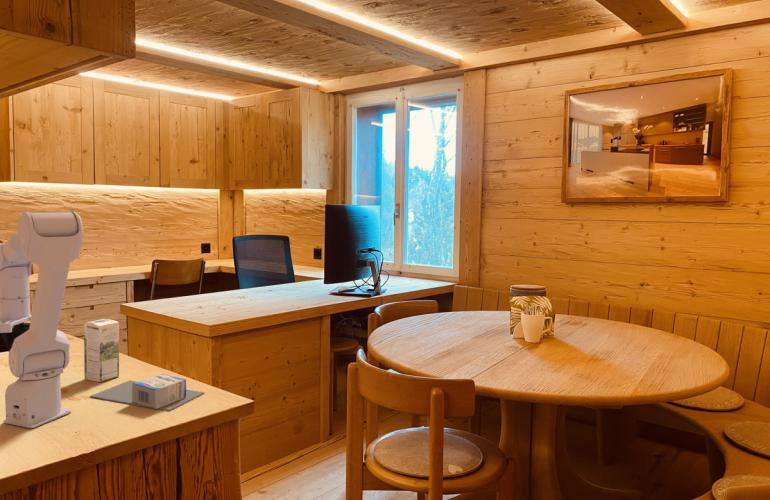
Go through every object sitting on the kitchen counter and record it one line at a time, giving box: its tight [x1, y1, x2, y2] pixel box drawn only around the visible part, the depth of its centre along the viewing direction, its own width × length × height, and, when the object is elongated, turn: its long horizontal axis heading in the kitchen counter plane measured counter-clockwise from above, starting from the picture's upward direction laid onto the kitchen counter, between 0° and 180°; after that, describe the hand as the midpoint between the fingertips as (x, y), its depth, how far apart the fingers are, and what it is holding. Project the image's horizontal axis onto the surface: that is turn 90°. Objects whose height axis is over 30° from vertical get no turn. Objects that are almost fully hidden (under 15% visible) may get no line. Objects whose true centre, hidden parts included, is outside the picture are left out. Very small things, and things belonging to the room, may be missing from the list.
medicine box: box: [132, 373, 187, 410], centre depth 129 cm, size 8×4×9 cm
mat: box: [89, 380, 205, 412], centre depth 133 cm, size 12×22×1 cm, turn 71°
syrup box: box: [83, 318, 120, 383], centre depth 144 cm, size 6×6×14 cm
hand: (16, 357), depth 129 cm, fingers closed
